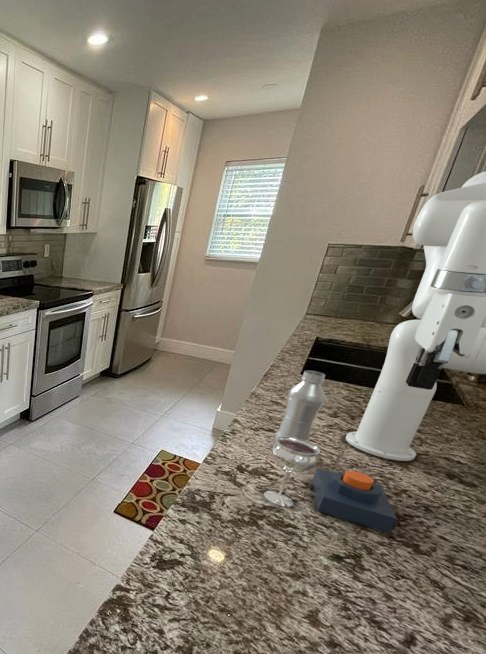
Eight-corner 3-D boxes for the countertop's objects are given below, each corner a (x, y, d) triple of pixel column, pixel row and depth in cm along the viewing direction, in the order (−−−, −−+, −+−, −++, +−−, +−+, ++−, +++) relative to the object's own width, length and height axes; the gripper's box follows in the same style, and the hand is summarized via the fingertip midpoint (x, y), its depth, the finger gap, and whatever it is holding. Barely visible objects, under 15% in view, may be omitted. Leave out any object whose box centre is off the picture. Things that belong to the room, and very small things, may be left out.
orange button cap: (340, 475, 80) (344, 468, 79) (367, 483, 78) (371, 475, 77) (343, 485, 77) (347, 477, 76) (372, 493, 74) (375, 485, 74)
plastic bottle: (310, 461, 93) (341, 379, 86) (277, 457, 94) (305, 376, 87) (296, 447, 99) (323, 370, 92) (265, 444, 100) (290, 367, 93)
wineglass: (262, 504, 78) (281, 449, 73) (254, 485, 84) (271, 433, 79) (304, 514, 76) (326, 458, 71) (293, 493, 81) (313, 440, 77)
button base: (312, 480, 86) (320, 460, 84) (375, 498, 81) (384, 476, 79) (317, 511, 77) (326, 488, 75) (389, 533, 71) (401, 509, 70)
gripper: (521, 292, 59) (462, 407, 66) (481, 279, 70) (435, 378, 77) (447, 287, 63) (399, 395, 70) (421, 275, 74) (382, 370, 81)
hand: (418, 386), depth 74 cm, fingers closed
